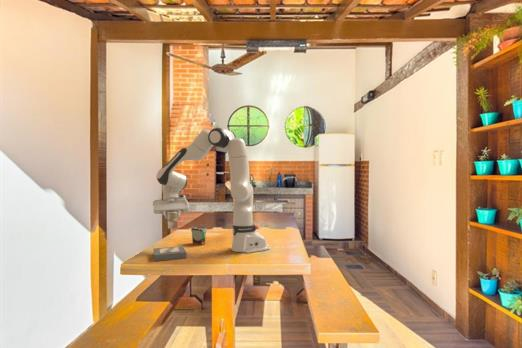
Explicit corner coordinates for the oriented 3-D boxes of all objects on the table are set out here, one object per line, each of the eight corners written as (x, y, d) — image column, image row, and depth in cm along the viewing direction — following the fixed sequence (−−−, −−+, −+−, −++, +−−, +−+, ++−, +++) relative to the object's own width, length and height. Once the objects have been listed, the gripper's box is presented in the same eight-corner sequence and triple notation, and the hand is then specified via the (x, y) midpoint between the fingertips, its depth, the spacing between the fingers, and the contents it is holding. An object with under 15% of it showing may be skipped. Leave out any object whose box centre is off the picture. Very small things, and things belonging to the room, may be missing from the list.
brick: (176, 226, 201) (176, 211, 201) (177, 228, 196) (176, 212, 196) (167, 227, 199) (167, 212, 199) (168, 228, 195) (168, 213, 194)
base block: (182, 251, 194) (182, 245, 194) (186, 257, 179) (186, 251, 179) (153, 253, 189) (153, 248, 189) (154, 261, 174) (154, 255, 174)
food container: (211, 243, 212) (210, 227, 212) (203, 245, 207) (202, 229, 207) (199, 241, 220) (198, 225, 220) (191, 242, 216) (190, 227, 215)
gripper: (152, 196, 201) (153, 215, 192) (187, 195, 207) (190, 213, 198) (152, 203, 205) (153, 222, 196) (187, 201, 212) (189, 219, 203)
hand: (172, 217), depth 197 cm, fingers closed on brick, 5 cm apart
